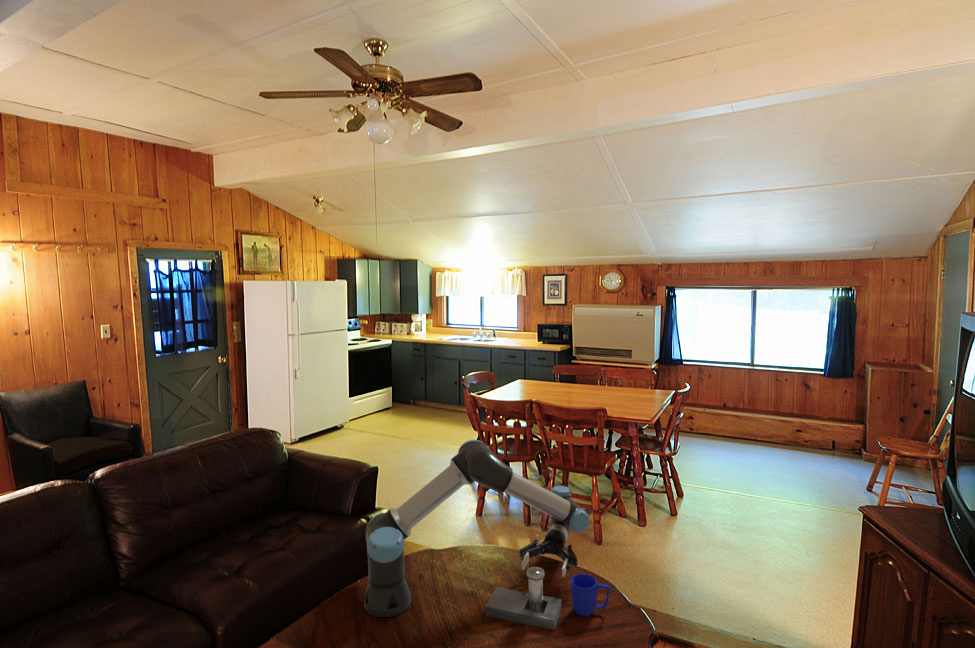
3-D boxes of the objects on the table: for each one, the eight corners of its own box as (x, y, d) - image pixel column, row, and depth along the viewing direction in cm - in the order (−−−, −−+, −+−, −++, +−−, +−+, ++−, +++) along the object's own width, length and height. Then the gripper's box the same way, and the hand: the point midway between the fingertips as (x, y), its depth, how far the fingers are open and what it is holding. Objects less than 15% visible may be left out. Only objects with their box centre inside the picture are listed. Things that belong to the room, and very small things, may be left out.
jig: (485, 615, 160) (485, 606, 160) (496, 595, 170) (496, 586, 170) (554, 630, 153) (554, 620, 152) (561, 608, 163) (561, 599, 163)
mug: (610, 622, 156) (609, 591, 155) (570, 617, 158) (570, 587, 157) (609, 605, 164) (609, 576, 163) (571, 601, 166) (571, 572, 165)
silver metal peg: (525, 617, 158) (524, 575, 157) (529, 607, 164) (529, 565, 163) (542, 621, 157) (542, 578, 156) (546, 610, 162) (546, 568, 161)
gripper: (589, 553, 184) (580, 586, 164) (523, 543, 193) (507, 573, 173) (589, 534, 184) (580, 564, 164) (523, 524, 192) (506, 552, 172)
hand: (542, 569), depth 168 cm, fingers open, 13 cm apart
